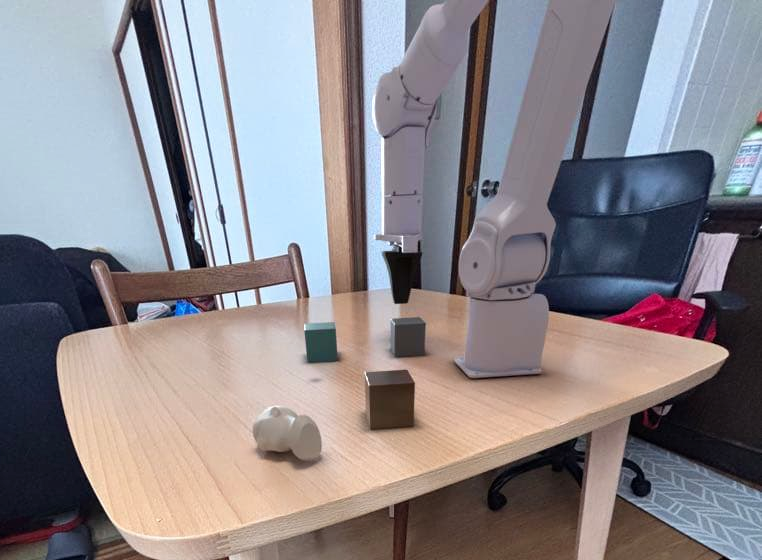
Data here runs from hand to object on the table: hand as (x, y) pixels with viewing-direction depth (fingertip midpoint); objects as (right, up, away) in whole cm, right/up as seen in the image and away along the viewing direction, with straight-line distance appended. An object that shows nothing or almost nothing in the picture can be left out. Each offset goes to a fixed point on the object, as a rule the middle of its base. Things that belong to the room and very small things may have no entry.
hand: (400, 303), depth 73 cm
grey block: (+1, -9, -2) cm, 9 cm away
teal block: (-12, -10, -2) cm, 16 cm away
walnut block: (-3, -25, -24) cm, 34 cm away
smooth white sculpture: (-14, -29, -29) cm, 43 cm away
